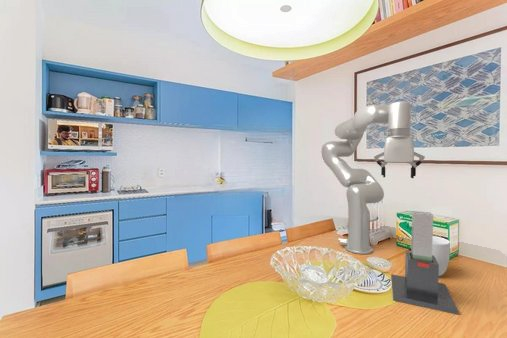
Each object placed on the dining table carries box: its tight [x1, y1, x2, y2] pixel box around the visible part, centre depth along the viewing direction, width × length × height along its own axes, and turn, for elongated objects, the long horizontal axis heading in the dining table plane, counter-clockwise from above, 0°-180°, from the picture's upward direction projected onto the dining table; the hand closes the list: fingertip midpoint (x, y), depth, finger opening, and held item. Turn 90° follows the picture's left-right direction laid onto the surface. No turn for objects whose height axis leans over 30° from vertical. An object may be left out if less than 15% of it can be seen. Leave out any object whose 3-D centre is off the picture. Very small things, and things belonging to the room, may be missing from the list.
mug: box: [432, 235, 451, 278], centre depth 96 cm, size 15×11×13 cm
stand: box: [390, 251, 459, 315], centre depth 82 cm, size 16×16×12 cm
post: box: [410, 210, 434, 262], centre depth 81 cm, size 5×5×20 cm
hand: (397, 177), depth 100 cm, fingers open, 9 cm apart
